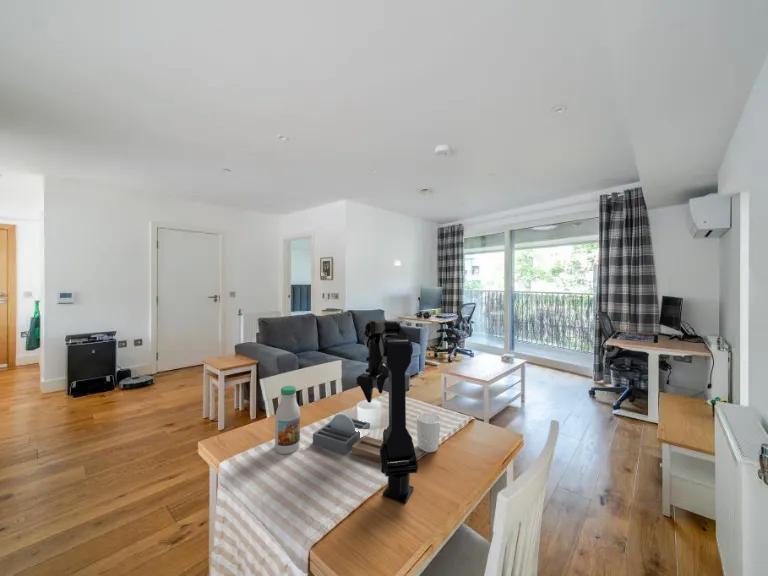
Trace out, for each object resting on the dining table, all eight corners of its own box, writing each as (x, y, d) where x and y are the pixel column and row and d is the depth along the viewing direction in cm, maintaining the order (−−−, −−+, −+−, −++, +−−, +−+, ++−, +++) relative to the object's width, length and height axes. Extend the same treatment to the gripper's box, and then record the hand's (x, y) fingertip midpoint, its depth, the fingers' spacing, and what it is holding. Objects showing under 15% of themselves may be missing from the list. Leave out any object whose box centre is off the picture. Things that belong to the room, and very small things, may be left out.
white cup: (438, 441, 109) (439, 413, 109) (440, 454, 102) (441, 424, 101) (415, 439, 110) (416, 411, 110) (415, 452, 102) (416, 422, 102)
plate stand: (386, 465, 95) (386, 457, 95) (351, 454, 100) (351, 446, 100) (396, 452, 102) (396, 444, 102) (363, 442, 107) (363, 435, 107)
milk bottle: (269, 452, 100) (270, 390, 99) (284, 440, 107) (285, 382, 106) (290, 457, 98) (291, 393, 97) (304, 444, 105) (305, 385, 104)
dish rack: (345, 454, 100) (346, 443, 100) (312, 443, 106) (312, 433, 105) (369, 432, 114) (370, 422, 114) (339, 424, 120) (339, 415, 120)
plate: (350, 445, 106) (355, 420, 105) (329, 435, 110) (333, 410, 109) (352, 444, 107) (356, 419, 106) (331, 433, 111) (335, 409, 110)
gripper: (386, 364, 101) (385, 412, 101) (406, 351, 118) (405, 393, 118) (356, 359, 105) (354, 405, 106) (379, 348, 122) (378, 387, 123)
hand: (375, 397), depth 113 cm, fingers open, 9 cm apart
